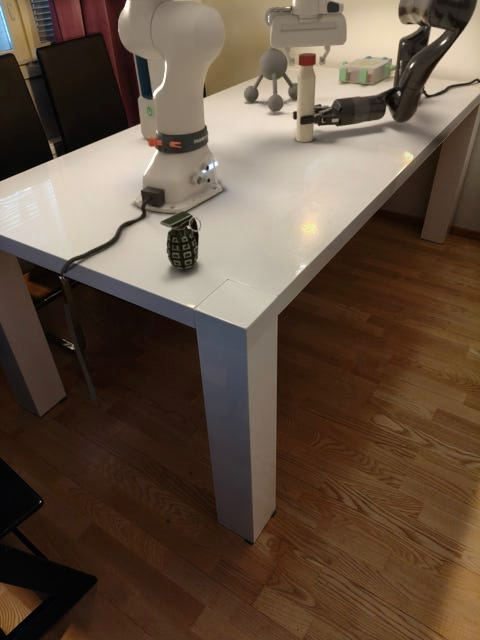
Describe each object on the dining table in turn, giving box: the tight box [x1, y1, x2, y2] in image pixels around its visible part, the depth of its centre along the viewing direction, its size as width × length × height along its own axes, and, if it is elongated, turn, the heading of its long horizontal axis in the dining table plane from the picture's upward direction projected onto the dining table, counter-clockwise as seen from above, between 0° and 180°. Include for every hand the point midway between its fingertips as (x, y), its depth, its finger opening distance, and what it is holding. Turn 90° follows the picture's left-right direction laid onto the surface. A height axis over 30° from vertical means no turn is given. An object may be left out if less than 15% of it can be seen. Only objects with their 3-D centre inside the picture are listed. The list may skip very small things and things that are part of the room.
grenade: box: [159, 211, 202, 271], centre depth 88 cm, size 7×6×10 cm
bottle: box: [295, 65, 317, 143], centre depth 139 cm, size 5×5×22 cm
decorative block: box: [338, 55, 396, 85], centre depth 201 cm, size 26×6×20 cm
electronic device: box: [133, 54, 165, 140], centre depth 143 cm, size 12×8×30 cm, turn 47°
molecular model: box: [243, 6, 298, 113], centre depth 169 cm, size 24×22×30 cm
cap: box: [298, 52, 317, 67], centre depth 133 cm, size 5×5×2 cm
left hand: (306, 65), depth 133 cm, fingers open, 7 cm apart
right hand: (297, 118), depth 141 cm, fingers closed on bottle, 5 cm apart
